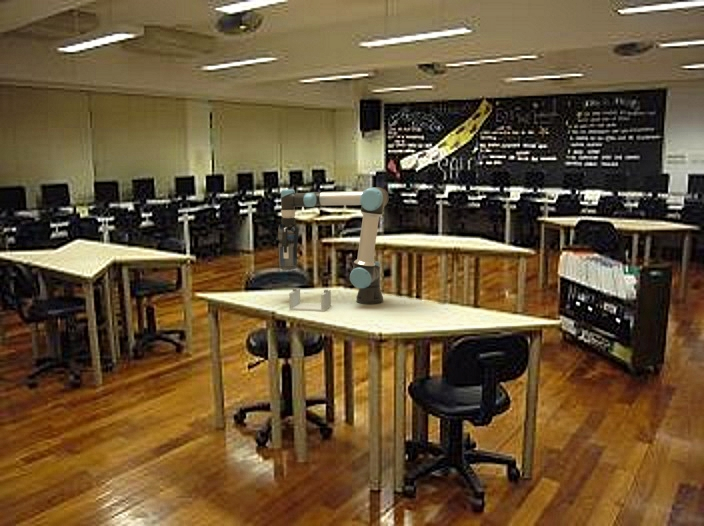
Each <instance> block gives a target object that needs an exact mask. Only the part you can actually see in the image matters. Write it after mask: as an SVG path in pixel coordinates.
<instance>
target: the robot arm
mask: <svg viewBox="0 0 704 526" xmlns="http://www.w3.org/2000/svg"><path fill="white" fill-rule="evenodd" d="M388 202H389V194H388V192H387V190H385V189H384V188H383V187H378V186H376V187H369V188H368V187H367V188H366V189H364V190H353V191H322V192H321V191H319V192H318V191H311V192H296V191H295V189H291V188H290V189H289V188H287V189H281V191H280V204H281V205H280V206H281V207H280V209H281V210H280V213H281V224H282V226H283V225H284V227H282V228H283V234H282V247H283V255H284V258H286V259H288V258H289V250H288V241H289V240H288V239H287V231H289V230H291V229H292V228H289V227H291V226H295V224H296V207H299V208H301V207H302V208H303V207H305V208H312V207H315V206H361V208H360V213H361V214H362V223H361V228H360V234H359V235H360V236H359V244H358V251H357V259H355V260H354V261H353V265H352V266H353V267H352V270H351V272H350V274H349V281H350V283H351V284H352V285H353V287H355V288H357V289H358V291H357V295H356V298H355V299H356V300H355V301H356V303H359V304H362V305H364V304H365V305H375V304H376V305H377V304H381V303H383V302H384V296H383V293H382V290H381V263H380V262H379V261H374V255H375V249H376V243H377V237H378V236H377V234H378V228H379V220H380V217H381V216H383V213H384V207H386V206H387V204H388Z"/></svg>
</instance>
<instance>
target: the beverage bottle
mask: <svg viewBox="0 0 704 526" xmlns="http://www.w3.org/2000/svg"><path fill="white" fill-rule="evenodd" d="M283 228H284V227H283V225H282V223H280V224H279V226H278V228H277V229H278V230H277V231H278V232H277V238H278V241H279V242H278V243H277V244H278V246H277V247H278V267H279V269H280V270H283V271H293V270H295V269H297V268H298V259H299V257H298V241H299V231H300V229H299V228H298V226H296V225H292V226H291V227H289V228H292V229H291V230H289V231H287V239H288V240H289V241H288V250H289V258H288V259H286V258H284V255H283V247H282V234H283Z"/></svg>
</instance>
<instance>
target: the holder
mask: <svg viewBox="0 0 704 526" xmlns="http://www.w3.org/2000/svg"><path fill="white" fill-rule="evenodd" d="M331 291H332V290H331V289H323V293H322V294H320V300H321V301H320V303H313V302H312V303H310V302H308V303H307V302H301V288H295V287H294V288H292V291H291V292H289V293H288V296H289V297H288V298H289V301H288V303H289V311H304V312H305V311H306V312H322V313H323V312H326V311H327V310H328V309H329V308H331V306H332V300H331V298H332V292H331Z"/></svg>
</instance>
